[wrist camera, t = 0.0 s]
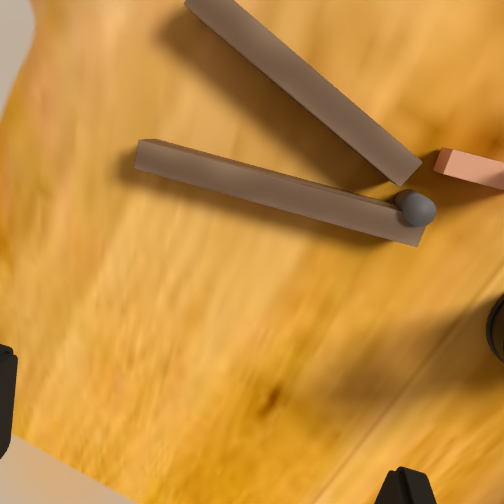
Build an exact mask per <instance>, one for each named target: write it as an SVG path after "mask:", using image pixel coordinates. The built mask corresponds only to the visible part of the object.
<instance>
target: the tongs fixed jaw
mask: <svg viewBox="0 0 504 504" xmlns="http://www.w3.org/2000/svg"><path fill="white" fill-rule="evenodd" d="M134 169H137V170H140V171H144V172H148V173H151V174H155V175H158V176H162V177H166V178H169V179H173V180H176V181H180V182H184V183H187V184H191V185H194V186H198V187H202V188H205V189H209V190H212V191H216V192H220V193H223V194H227V195H230V196H234V197H238V198H241V199H245V200H248V201H252V202H256V203H259V204H263V205H266V206H270V207H274V208H277V209H281V210H284V211H288V212H292V213H295V214H299V215H302V216H306V217H310V218H313V219H317V220H320V221H324V222H328V223H331V224H335V225H338V226H342V227H346V228H349V229H353V230H356V231H360V232H364V233H367V234H371V235H374V236H378V237H382V238H385V239H389V240H392V241H396V242H400V243H403V244H407V245H410V246H414V247H418V245H419V242H420V240H421V237H422V234H423V232H424V229H425V227H426V225H427V224H429V223H430V222H431V221H432V220H433V219H434V217H435V215H436V206H435V204H434V203H433V201H431V200H430V199H428V198H427V197H425V196H423V195H421V194H420V193H418V192H416V191H414V190H411V189H406V190H403V191H401V192H399V193H398V194H397V196H396V197H395V199H394V204H392V203H388V202H385V201H381V200H377V199H374V198H370V197H366V196H363V195H359V194H355V193H352V192H348V191H344V190H341V189H337V188H333V187H330V186H326V185H322V184H319V183H315V182H311V181H308V180H304V179H301V178H297V177H293V176H290V175H286V174H282V173H279V172H275V171H271V170H268V169H264V168H260V167H257V166H253V165H249V164H246V163H242V162H238V161H235V160H231V159H227V158H224V157H220V156H216V155H213V154H209V153H205V152H202V151H198V150H194V149H191V148H187V147H183V146H180V145H176V144H172V143H169V142H165V141H161V140H158V139H143V140H139V141H138V147H137V153H136V160H135V166H134Z"/></svg>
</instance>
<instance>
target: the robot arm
mask: <svg viewBox="0 0 504 504" xmlns="http://www.w3.org/2000/svg"><path fill="white" fill-rule="evenodd" d="M17 364H18V358H17V356H16V355H13V349H12V348H11V347H9V346H5V345H2V344H0V459H1V458H2V456H3V455H4V454H5V452H6V451H7V449H8V447H9V444H10V440H11V429H12V419H13V408H14V397H15V386H16V375H17ZM374 504H437V503H436V500H435V497H434V494H433V492H432V489H431V486H430V483H429V480H428V478H427V475H426V474H424V473H422V472H418V471H415V470H412V469H408V468H405V467H398V468H397V470H396V471H392V470H390V471H389V472H388V474H387V476H386V478H385V481H384V483H383V485H382V487H381V490H380V492H379V494H378V496H377V498H376V501H375V503H374Z"/></svg>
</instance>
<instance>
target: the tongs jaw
mask: <svg viewBox="0 0 504 504" xmlns="http://www.w3.org/2000/svg"><path fill="white" fill-rule="evenodd" d="M184 5H185V6H186V7H187V8H188V9H189V10H190V11H191V12H192V13H193V14H194V15H195V16H196V17H197V18H198V19H200V20H201V21H202V22H203V23H204V24H205V25H207V26H208V27H209V28H210V29H211V30H213V31H214V32H215V33H216V34H217V35H218V36H220V37H221V38H222V39H223V40H224V41H226V42H227V43H228V44H229V45H230V46H231V47H233V48H234V49H235V50H236V51H237V52H239V53H240V54H241V55H242V56H243V57H244V58H246V59H247V60H248V61H249V62H250V63H252V64H253V65H254V66H255V67H256V68H257V69H259V70H260V71H261V72H262V73H263V74H265V75H266V76H267V77H268V78H269V79H270V80H272V81H273V82H274V83H275V84H276V85H278V86H279V87H280V88H281V89H282V90H283V91H285V92H286V93H287V94H288V95H289V96H291V97H292V98H293V99H294V100H295V101H296V102H298V103H299V104H300V105H301V106H302V107H304V108H305V109H306V110H307V111H308V112H309V113H311V114H312V115H313V116H314V117H315V118H317V119H318V120H319V121H320V122H321V123H322V124H324V125H325V126H326V127H327V128H328V129H330V130H331V131H332V132H333V133H334V134H335V135H337V136H338V137H339V138H340V139H341V140H343V141H344V142H345V143H346V144H347V145H348V146H350V147H351V148H352V149H353V150H354V151H356V152H357V153H358V154H359V155H360V156H361V157H363V158H364V159H365V160H366V161H367V162H369V163H370V164H371V165H372V166H373V167H374V168H376V169H377V170H378V171H379V172H380V173H382V174H383V175H384V176H385V177H386V178H387V179H389V180H390V181H391V182H393V183H394V184H396V185H397V186H399V187H401V185H402V184H403V183H404V182H405V181H406V180H407V179H408V178H409V177H410V176H411V175H412V174H413V173H414V171H415V170H416V169H417V168H418V167H419V166H420V165H421V164H422V163H423V162H422V161H421V160H419V159H418V158H417V157H416V156H415V155H414V154H412V153H411V152H410V151H409V150H408V149H407V148H405V147H404V146H403V145H402V144H401V143H400V142H398V141H397V140H396V139H395V138H394V137H393V136H391V135H390V134H389V133H388V132H387V131H386V130H384V129H383V128H382V127H381V126H380V125H379V124H377V123H376V122H375V121H374V120H373V119H372V118H370V117H369V116H368V115H367V114H366V113H365V112H363V111H362V110H361V109H360V108H359V107H358V106H356V105H355V104H354V103H353V102H352V101H351V100H349V99H348V98H347V97H346V96H345V95H344V94H342V93H341V92H340V91H339V90H338V89H337V88H335V87H334V86H333V85H332V84H331V83H330V82H328V81H327V80H326V79H325V78H324V77H323V76H321V75H320V74H319V73H318V72H317V71H316V70H314V69H313V68H312V67H311V66H310V65H309V64H307V63H306V62H305V61H304V60H303V59H302V58H300V57H299V56H298V55H297V54H296V53H295V52H293V51H292V50H291V49H290V48H289V47H288V46H286V45H285V44H284V43H283V42H282V41H281V40H279V39H278V38H277V37H276V36H275V35H274V34H272V33H271V32H270V31H269V30H268V29H267V28H265V27H264V26H263V25H262V24H261V23H260V22H258V21H257V20H256V19H255V18H254V17H253V16H251V15H250V14H249V13H248V12H247V11H246V10H244V9H243V8H242V7H241V6H240V5H239V4H237V3H236V2H235V1H234V0H186V1H185V2H184Z"/></svg>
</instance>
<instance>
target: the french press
mask: <svg viewBox="0 0 504 504" xmlns="http://www.w3.org/2000/svg"><path fill="white" fill-rule="evenodd" d="M486 336H487V340H488V344H489V345H490V347H491V349H492V351H493V352H494V354H495V355H496V356H497V357H498V358H499V359H500V360H501V361H502V362H504V295H503V296H502V297H501V298H500V299H499V300H498V301H497V303H496V304H495V305H494V307H493V308H492V310H491V312H490V314H489V316H488V320H487V324H486Z"/></svg>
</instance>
